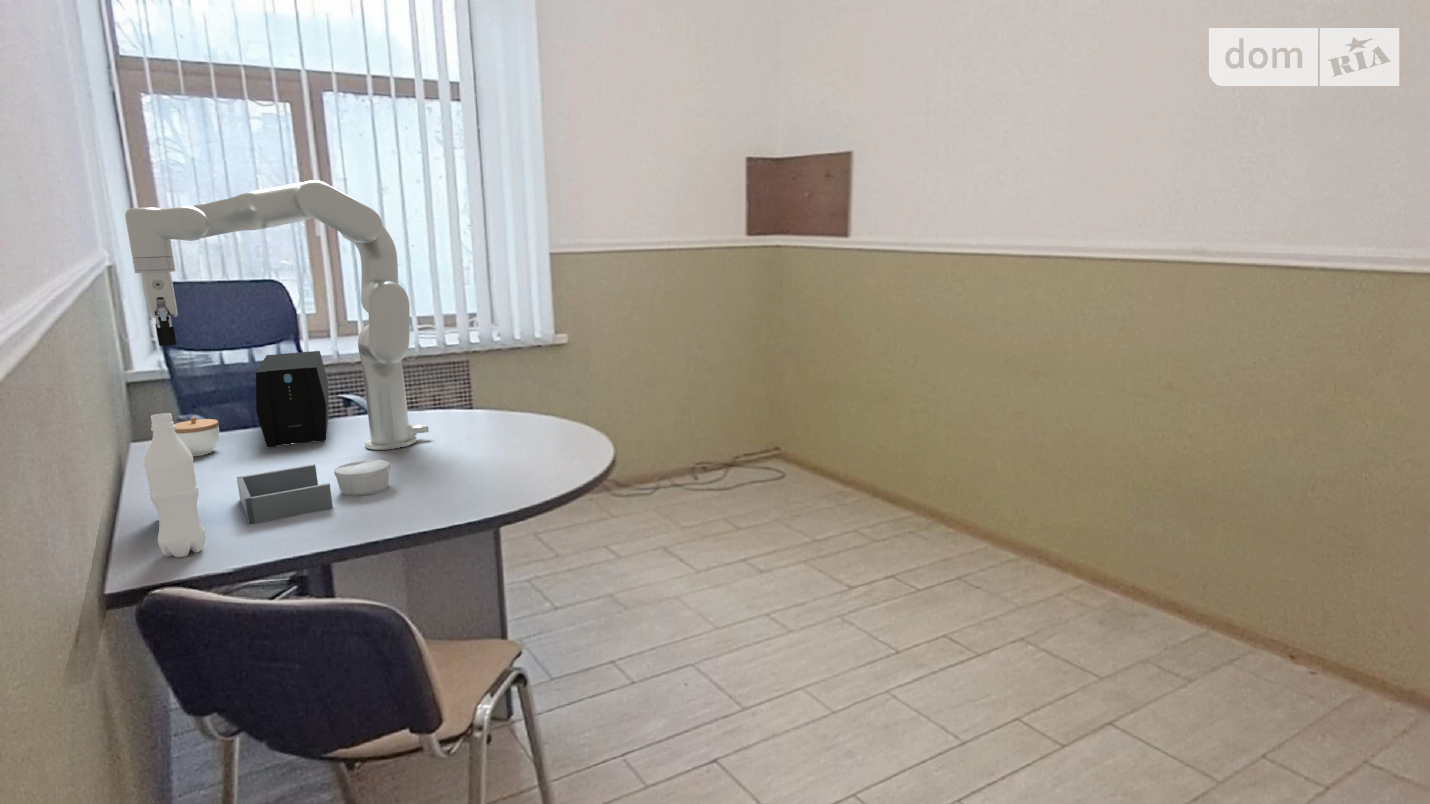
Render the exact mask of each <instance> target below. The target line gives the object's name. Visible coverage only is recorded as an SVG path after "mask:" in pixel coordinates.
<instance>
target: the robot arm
mask: <svg viewBox="0 0 1430 804" xmlns="http://www.w3.org/2000/svg"><path fill="white" fill-rule="evenodd" d="M124 216H125V224H126V230H127V235H128V239H129V240H128V241H129V247H130V252H131V259H132V264H133V269H134V274H141V278H142V282H143V284H142V285H143V288H144V294H145V298H146V302H147V306H148V309H149V312H150V315H151V318H153V319H155V322H156V323H155V329H156V335H157V340H158V345H159V346H160V347H167V346H169V347H170V346H175V345H177V339H176V333H175V327H174V326H173V322H172V317H171V315H172V316H174V318H177V317H178V316H179V313H178V306H177V302H176V301H177V300H176V296H175V290H174V284H173V279H172V275H171V273H173V272H176V265H175V259H174V253H173V247H172V240H178V241H188V242H189V241H190V242H192V241H193V242H195V241H198V240H200V239H204V238H209V237H210V238H211V237H214V236H219V235H225V234H230V233H236V232H241V231H242V232H244V231H258V230H263V229H269V228H272V227H273V228H274V227H277V226H284V225H289V224H292V223H298V222H299V223H300V222H303V221H308V220H313V219H316V220H317V221H318V222H321V223H322V224H324V225H326V226H328V227H330V228H332V229H333V230H336V231H338V232H339V233H340V234H341V235H342V237H343V238H345V239H346V240H347V241H349V242H352V243H353V244H354V245H355V247H356V248H357V250H358V252H359V253H358V254H359V256H360V264H361V265H360V266H361V284H360V285H361V288H360V289H361V290H360V303H361V306H362V308H363V309H364V311H365V312H367V313H368V324H367V325H365V326H363V328H362V329H361V331H360V332H359V334H358V338H357V339H358V340H357V346H358V354H359V360H360V363H361V368H362V373H363V375H362V376H363V382H364V391H365V400H366V410H367V417H368V425H369V435H370V438H369V439H367V440H366V441H365V442H364V446H365V448H366V449H369V450H374V451H375V450H376V451H384V450H386V451H387V450H395V448H396V449H401V448H400V447H402V448H404V447H409V446H411V444H412V445H414V444H415V443H417V439H418V438H417V435H418V434H424V433H425V434H426V433H429V431H430V430H429V425H427V424H424V425H421V424H417V425H412V424H410V422H409V413H408V404H407V395H406V394H407V393H406V386H405V384H406V383H405V376H404V368H403V363H402V360H404V358H405V357H406V355H407V353H408V351H409V347H410V325H411V324H410V319H411V318H410V312H411V310H410V300H409V296H408V294H407V291H406V290H405V288H403V287H402V286H401V285H400V284H399V271H398V270H399V269H398V268H399V267H398V266H399V265H398V264H399V263H398V255H397V254H398V253H397V248H396V245H395V243H394V240H393V238H392V236H391V235H390V233H389V231H388V229H386V228H385V227H384V225H383V219H381V217H380V215H379V214H378V212H376V211H375V210H374V209H373V208H371V207H369V206H368V205H365V203H363V202H360V201H359V200H357V199H355V198H353V197H351V196H349V195H348V194H346V193H344V192H342V191H340V190H339V189H337V188H335V187H333V186H331V184H330V185H329V184H328V183H326V182H324V181H321V180H318V179H317V180H314V179H313V180H312V179H311V180H308V181H304V182H298V183H292V184H286V185H282V186H281V185H280V186H276V187H270V188H265V189H263V188H262V189H258V190H253V191H248V192H244V193H241V194H238V195H235V196H232V197H229V198H225V199H221V200H215V201H209V202H205V203H199V204H194V205H182V206H175V207H166V208H159V207H132V208H131V207H130V208H128V209H127V210H126V211H125V214H124ZM413 443H414V444H413Z"/></svg>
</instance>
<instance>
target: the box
mask: <svg viewBox="0 0 1430 804" xmlns="http://www.w3.org/2000/svg"><path fill="white" fill-rule="evenodd" d="M317 474H318V473H317V467H316V464H308V465H302V466H297V467H295V466H294V467H292V468H290V467H289V468H284V469H279V470H272V471H267V472H260V473H253V474H247V475H241V476H237V477H236V483H237V488H238V495H239V501H240V503H241V506H242V508H243V511H244V514H245V516H246V520H247V522H248V524H249V525H252V524H258V523H262V522H267V521H273V520H279V519H284V518H288V517H289V518H290V517H293V516H298V515H303V514H308V513H314V512H318V511H323V510H329V509H333V508H334V507H333V505H334V504H333V497H332V492H331V491H332V490H331V485H330V482H327V483H323V484H319V481H318V476H317Z"/></svg>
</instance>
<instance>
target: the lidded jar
mask: <svg viewBox="0 0 1430 804" xmlns="http://www.w3.org/2000/svg"><path fill="white" fill-rule="evenodd" d="M173 425H175V428H174V430H175V432H176V434H177V436H178V437H179V438H180V440H181V441H182V442H183V443H184V444H185V445H186V447H187V448H188V449H189V450H190V452H191V454H192V456H193V457H201V456H205V454H206V455H208V453H209V454H212V453H213V451H214V449H215V448H216V447H217V446H218V443H219V440H220V427H219V425H220V422H219V421H218V420H217V419H214V418H213V419H211V418H201V419H196V417H195V416H192V417H190V420H185V421H182V422H177V423H173Z"/></svg>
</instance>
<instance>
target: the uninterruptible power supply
mask: <svg viewBox="0 0 1430 804" xmlns="http://www.w3.org/2000/svg"><path fill="white" fill-rule="evenodd" d="M321 354H322V353H321V351H320V350H314V351H313V350H311V351H301V352H289V353H288V352H287V353H275V354H274V353H273V354H266V356H265V357H264V358H263V360H262V362H261V363H260V365H259V366H258V368H257V370H256V371H255V403H256V404H255V408H256V409H255V411H256V415H257V418H258V421H259V425H260V429H261V432H262V436H263V439H264V442H265V443H264V444H265V445H266V448H267V447H269V448H275V447H278V446H277V445H281V446H284V445H283V444H290V445H292V444H291V443H298V444H305V443H315V442H314V441H316V442H317V441H318V443H320V442H319V441H321V442H326V441H327V435H326V434H328V433H327V432H328V423H329V422H328V421H329V381H328V377H327V373H326V370H325V369H326V368H325V366H324V363H323V361H324V360H323V358H322V355H321ZM325 440H326V441H325Z"/></svg>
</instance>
